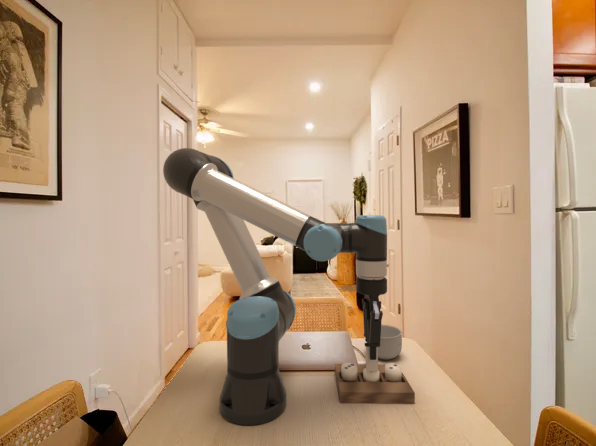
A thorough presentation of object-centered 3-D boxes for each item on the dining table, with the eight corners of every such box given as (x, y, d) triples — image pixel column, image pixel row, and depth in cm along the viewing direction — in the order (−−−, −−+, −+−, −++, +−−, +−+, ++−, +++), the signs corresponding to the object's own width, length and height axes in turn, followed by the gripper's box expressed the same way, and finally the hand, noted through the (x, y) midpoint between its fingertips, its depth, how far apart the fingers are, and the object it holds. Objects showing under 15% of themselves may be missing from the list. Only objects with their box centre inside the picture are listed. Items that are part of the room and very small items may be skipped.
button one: (364, 385, 79) (364, 374, 79) (361, 377, 83) (361, 367, 83) (381, 386, 79) (381, 375, 79) (377, 377, 83) (377, 367, 83)
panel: (340, 402, 74) (340, 392, 74) (334, 373, 88) (334, 364, 88) (414, 403, 74) (414, 392, 74) (397, 373, 88) (397, 364, 88)
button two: (387, 381, 79) (387, 370, 79) (383, 373, 83) (383, 362, 83) (403, 381, 79) (403, 370, 79) (398, 373, 83) (399, 362, 83)
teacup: (406, 363, 94) (406, 336, 94) (369, 363, 94) (369, 336, 94) (393, 344, 108) (393, 320, 107) (361, 344, 108) (361, 320, 108)
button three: (342, 380, 79) (342, 369, 79) (340, 373, 83) (340, 362, 83) (358, 381, 79) (358, 370, 79) (356, 373, 83) (356, 362, 83)
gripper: (393, 282, 74) (393, 383, 74) (380, 272, 87) (380, 358, 87) (360, 282, 74) (361, 383, 74) (352, 272, 87) (353, 358, 87)
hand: (371, 370), depth 81 cm, fingers closed
